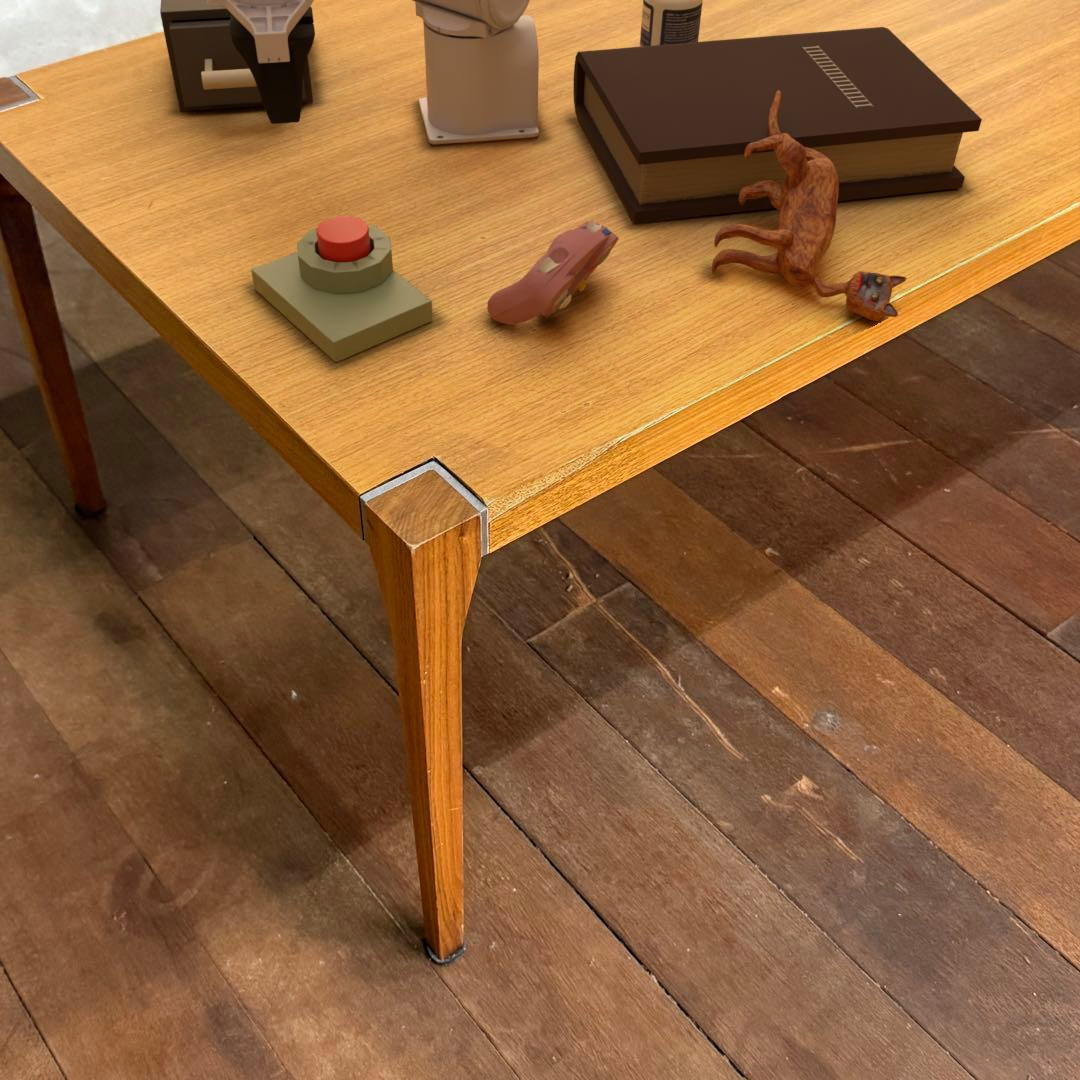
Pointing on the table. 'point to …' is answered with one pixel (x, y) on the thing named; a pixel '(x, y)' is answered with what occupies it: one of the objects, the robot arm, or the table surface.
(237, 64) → the drawer
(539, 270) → the pink pronged piece
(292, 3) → the robot arm
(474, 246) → the table surface
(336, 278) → the olive button base
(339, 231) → the button
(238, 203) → the table surface
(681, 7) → the pill bottle
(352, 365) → the table surface
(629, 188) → the book
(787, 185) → the cat figurine
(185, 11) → the cabinet
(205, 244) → the table surface
